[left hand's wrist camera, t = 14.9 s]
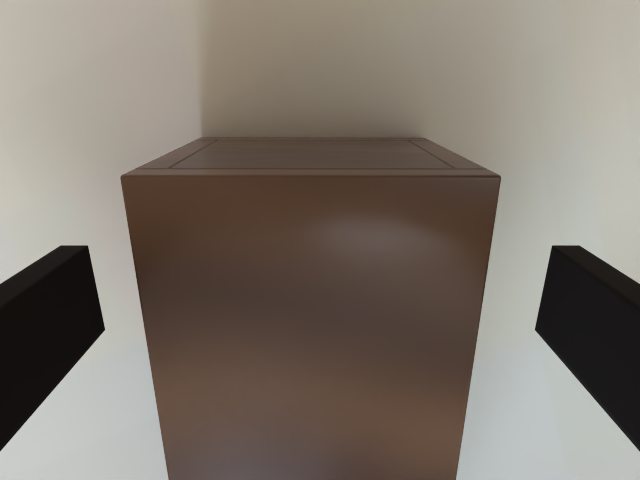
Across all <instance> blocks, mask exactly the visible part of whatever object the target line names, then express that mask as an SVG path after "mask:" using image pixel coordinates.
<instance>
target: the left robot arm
mask: <svg viewBox="0 0 640 480" xmlns="http://www.w3.org/2000/svg"><path fill="white" fill-rule="evenodd" d="M104 330H105V327H104V322H103V317H102V312H101V308H100V303H99V298H98V293H97V288H96V283H95V278H94V273H93V268H92V264H91V259H90V254H89V249H88V246H59V247H58V248H56V249H55V250H53V251H51V252H50V253H48V254H47V255H45V256H44V257H42V258H40V259H39V260H37V261H36V262H34V263H33V264H31V265H29V266H28V267H26V268H25V269H23V270H22V271H20V272H18V273H17V274H15V275H14V276H12V277H11V278H9V279H7V280H6V281H4V282H3V283H1V284H0V451H1V450H2V449H3V448H4V446H5V445H6V444H7V443H8V442H9V441H10V439H11V438H12V437H13V436H14V435H15V434H16V432H17V431H18V430H19V429H20V428H21V427H22V425H23V424H24V423H25V422H26V421H27V420H28V419H29V417H30V416H31V415H32V414H33V413H34V412H35V410H36V409H37V408H38V407H39V406H40V405H41V403H42V402H43V401H44V400H45V399H46V398H47V396H48V395H49V394H50V393H51V392H52V391H53V390H54V388H55V387H56V386H57V385H58V384H59V383H60V381H61V380H62V379H63V378H64V377H65V376H66V374H67V373H68V372H69V371H70V370H71V369H72V368H73V366H74V365H75V364H76V363H77V362H78V361H79V359H80V358H81V357H82V356H83V355H84V354H85V352H86V351H87V350H88V349H89V348H90V347H91V345H92V344H93V343H94V342H95V341H96V340H97V339H98V337H99V336H100V335H101V334H102V333H103V332H104ZM535 330H536V332H537V333H538V334H539V335H540V336H541V337H542V339H543V340H544V341H545V342H546V343H547V344H548V345H549V347H550V348H551V349H552V350H553V351H554V352H555V354H556V355H557V356H558V357H559V358H560V359H561V361H562V362H563V363H564V364H565V365H566V366H567V368H568V369H569V370H570V371H571V372H572V373H573V374H574V376H575V377H576V378H577V379H578V380H579V381H580V383H581V384H582V385H583V386H584V387H585V388H586V390H587V391H588V392H589V393H590V394H591V395H592V396H593V398H594V399H595V400H596V401H597V402H598V403H599V405H600V406H601V407H602V408H603V409H604V410H605V412H606V413H607V414H608V415H609V416H610V417H611V419H612V420H613V421H614V422H615V423H616V424H617V425H618V427H619V428H620V429H621V430H622V431H623V432H624V434H625V435H626V436H627V437H628V438H629V439H630V441H631V442H632V443H633V444H634V445H635V446H636V448H637V449H638V450H639V451H640V284H639V283H637V282H636V281H634V280H633V279H631V278H629V277H628V276H626V275H625V274H623V273H622V272H620V271H618V270H617V269H615V268H614V267H612V266H611V265H609V264H607V263H606V262H604V261H603V260H601V259H600V258H598V257H596V256H595V255H593V254H592V253H590V252H589V251H587V250H585V249H584V248H582V247H581V246H552V249H551V254H550V259H549V264H548V268H547V273H546V278H545V283H544V288H543V293H542V298H541V303H540V308H539V312H538V317H537V322H536V327H535Z"/></svg>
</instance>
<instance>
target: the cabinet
mask: <svg viewBox="0 0 640 480" xmlns="http://www.w3.org/2000/svg"><path fill="white" fill-rule="evenodd" d="M500 182H501V176H500V175H498V174H496V173H494V172H492V171H490V170H488V169H486V168H484V167H482V166H480V165H478V164H476V163H474V162H472V161H470V160H468V159H466V158H464V157H462V156H460V155H458V154H456V153H454V152H451V151H449V150H447V149H445V148H443V147H441V146H439V145H437V144H435V143H433V142H431V141H430V140H427V139H425V138H199V139H197V140H195V141H193V142H191V143H189V144H187V145H185V146H183V147H180V148H178V149H176V150H174V151H172V152H170V153H168V154H166V155H163V156H161V157H159V158H157V159H155V160H153V161H151V162H149V163H147V164H144V165H142V166H140V167H138V168H136V169H134V170H132V171H130V172H128V173H126V174H124V175H122V176H121V184H122V190H123V196H124V203H125V209H126V215H127V221H128V228H129V234H130V240H131V246H132V253H133V259H134V265H135V271H136V278H137V284H138V290H139V296H140V303H141V309H142V315H143V321H144V328H145V334H146V340H147V346H148V353H149V359H150V365H151V371H152V378H153V384H154V390H155V397H156V403H157V409H158V415H159V422H160V428H161V434H162V440H163V447H164V453H165V459H166V465H167V472H168V478H169V480H456V475H457V468H458V461H459V455H460V448H461V441H462V435H463V428H464V421H465V415H466V408H467V401H468V395H469V388H470V381H471V375H472V368H473V361H474V355H475V348H476V341H477V335H478V328H479V321H480V315H481V308H482V302H483V295H484V288H485V282H486V275H487V268H488V262H489V255H490V248H491V242H492V235H493V228H494V222H495V215H496V208H497V202H498V195H499V188H500Z"/></svg>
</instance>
